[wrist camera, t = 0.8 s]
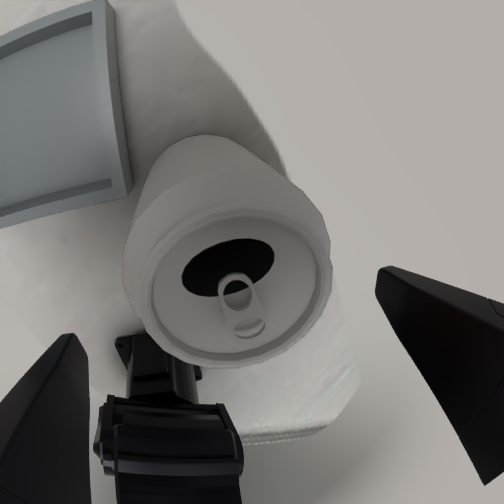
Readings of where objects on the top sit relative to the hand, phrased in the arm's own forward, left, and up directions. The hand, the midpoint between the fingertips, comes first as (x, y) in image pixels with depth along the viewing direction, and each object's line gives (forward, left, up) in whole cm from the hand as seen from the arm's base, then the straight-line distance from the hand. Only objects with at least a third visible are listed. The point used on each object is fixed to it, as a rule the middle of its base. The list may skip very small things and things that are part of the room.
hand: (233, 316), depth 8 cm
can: (0, 0, -13) cm, 13 cm away
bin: (+7, +10, -13) cm, 17 cm away
